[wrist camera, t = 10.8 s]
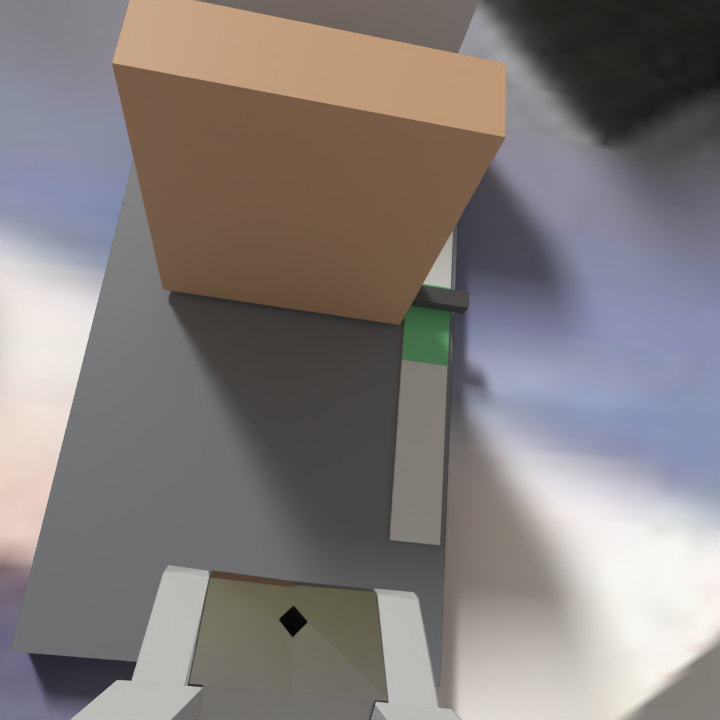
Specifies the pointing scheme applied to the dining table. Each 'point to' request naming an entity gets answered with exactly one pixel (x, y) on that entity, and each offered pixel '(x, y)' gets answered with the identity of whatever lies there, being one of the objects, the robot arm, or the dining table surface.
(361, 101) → the paddle
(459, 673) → the dining table surface
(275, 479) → the gauge board
